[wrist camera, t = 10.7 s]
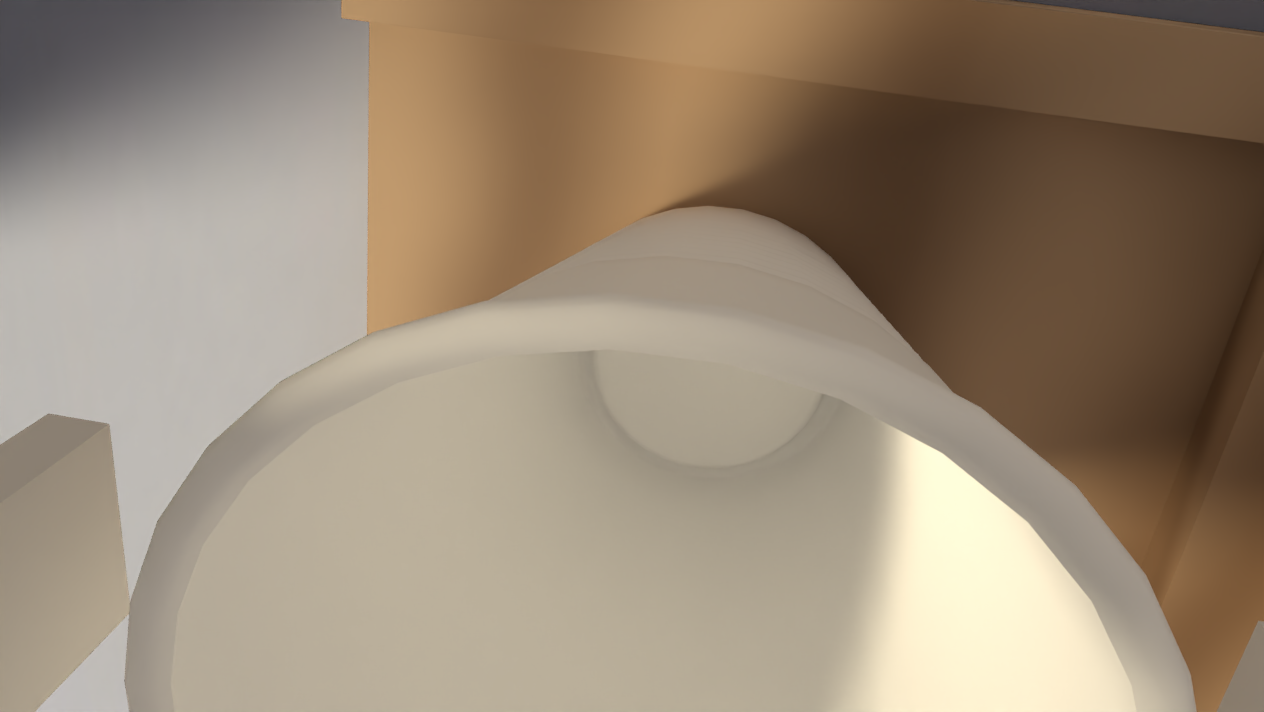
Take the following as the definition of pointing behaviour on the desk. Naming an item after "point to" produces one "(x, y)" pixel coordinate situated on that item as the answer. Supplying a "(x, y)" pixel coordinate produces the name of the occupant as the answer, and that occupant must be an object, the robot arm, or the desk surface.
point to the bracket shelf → (894, 214)
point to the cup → (641, 515)
